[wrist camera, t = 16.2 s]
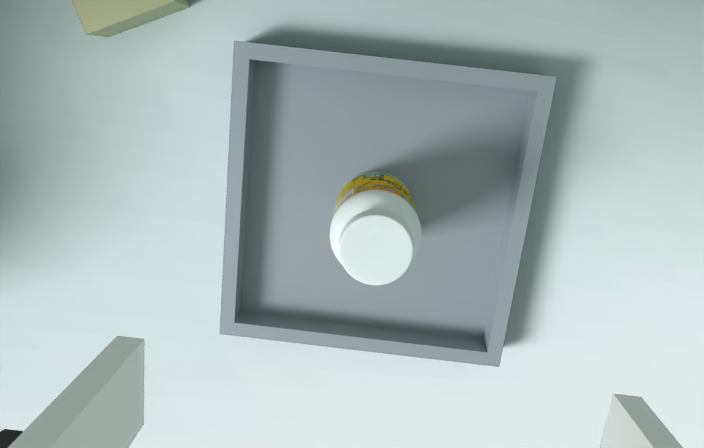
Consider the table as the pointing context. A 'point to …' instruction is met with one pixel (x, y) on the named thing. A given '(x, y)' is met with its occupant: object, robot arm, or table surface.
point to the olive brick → (122, 14)
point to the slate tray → (385, 157)
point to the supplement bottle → (375, 228)
